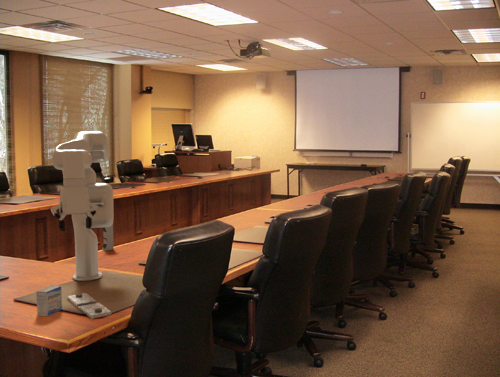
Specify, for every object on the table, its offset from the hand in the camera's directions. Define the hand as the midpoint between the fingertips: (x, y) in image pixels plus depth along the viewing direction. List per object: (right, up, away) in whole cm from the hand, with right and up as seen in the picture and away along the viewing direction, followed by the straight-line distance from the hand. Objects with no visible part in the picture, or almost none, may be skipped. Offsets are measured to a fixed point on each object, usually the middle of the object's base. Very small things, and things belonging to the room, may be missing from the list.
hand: (75, 229), depth 191 cm
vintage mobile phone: (-14, -19, +94) cm, 97 cm away
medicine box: (-6, -29, -9) cm, 31 cm away
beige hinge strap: (+6, -28, -3) cm, 29 cm away
